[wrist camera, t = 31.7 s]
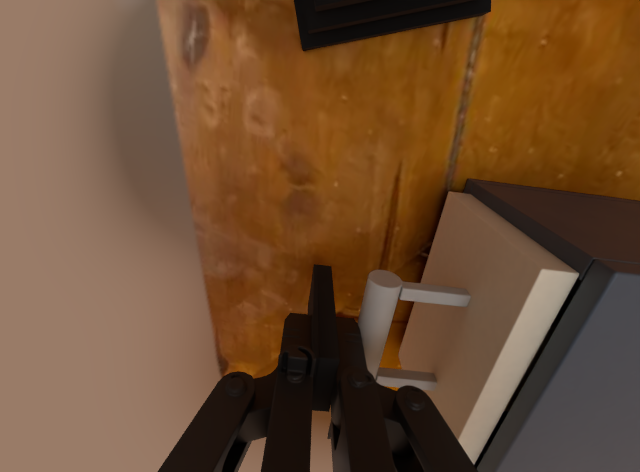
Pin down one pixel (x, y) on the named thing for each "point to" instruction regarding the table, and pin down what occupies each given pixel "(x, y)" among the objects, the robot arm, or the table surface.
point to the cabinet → (577, 337)
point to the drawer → (468, 318)
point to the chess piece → (375, 17)
